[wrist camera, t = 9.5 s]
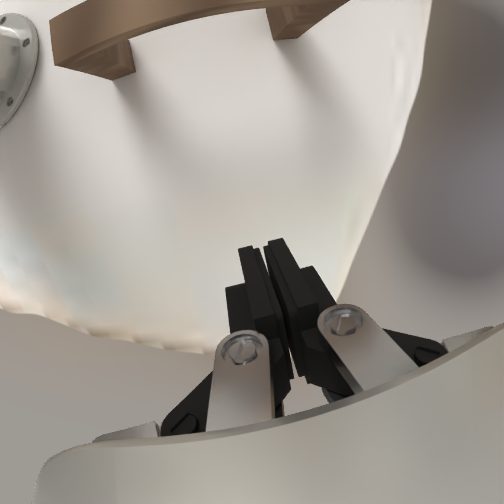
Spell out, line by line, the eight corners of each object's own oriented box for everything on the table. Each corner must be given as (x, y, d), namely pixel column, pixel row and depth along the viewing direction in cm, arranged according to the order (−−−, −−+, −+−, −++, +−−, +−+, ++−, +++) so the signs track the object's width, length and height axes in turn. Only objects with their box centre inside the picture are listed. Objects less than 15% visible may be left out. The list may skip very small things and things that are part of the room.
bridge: (112, 80, 18) (54, 65, 9) (106, 49, 16) (49, 20, 8) (297, 38, 18) (350, 0, 10) (289, 7, 17) (335, -42, 8)
